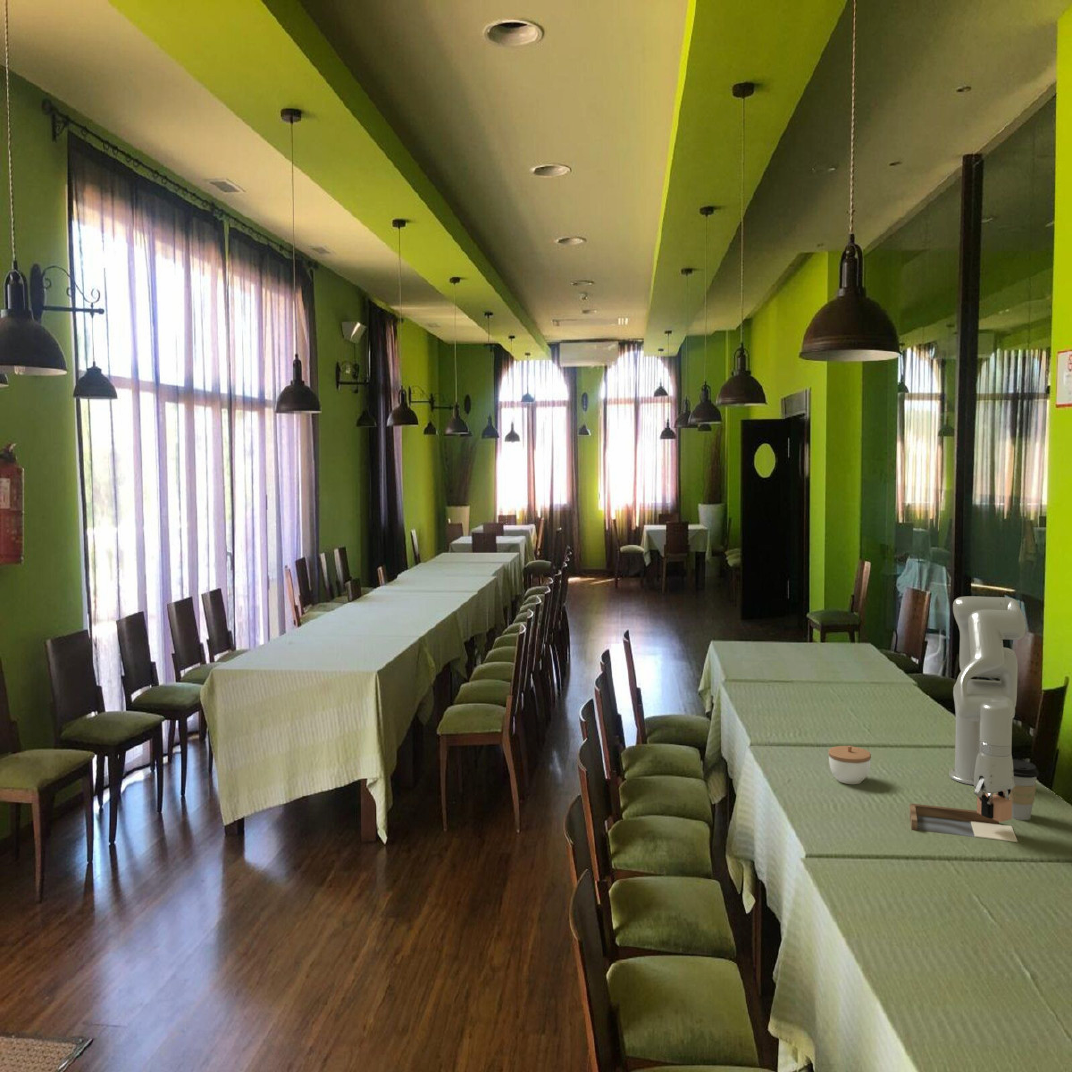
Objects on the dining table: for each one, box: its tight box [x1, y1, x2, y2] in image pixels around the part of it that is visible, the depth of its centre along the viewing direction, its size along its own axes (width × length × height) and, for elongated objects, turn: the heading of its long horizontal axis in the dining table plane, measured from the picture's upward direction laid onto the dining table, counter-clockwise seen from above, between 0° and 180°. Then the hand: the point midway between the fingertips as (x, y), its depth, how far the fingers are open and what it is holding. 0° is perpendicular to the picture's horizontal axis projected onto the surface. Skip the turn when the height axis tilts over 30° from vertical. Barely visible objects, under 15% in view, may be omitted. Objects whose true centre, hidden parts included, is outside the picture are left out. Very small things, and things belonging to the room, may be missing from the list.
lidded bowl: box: [827, 745, 872, 785], centre depth 272 cm, size 13×13×11 cm
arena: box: [909, 803, 1019, 843], centre depth 236 cm, size 12×26×3 cm, turn 69°
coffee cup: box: [1009, 759, 1040, 821], centre depth 242 cm, size 9×9×15 cm
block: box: [976, 793, 1013, 823], centre depth 231 cm, size 7×4×5 cm, turn 24°
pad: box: [971, 821, 1018, 843], centre depth 232 cm, size 10×10×1 cm
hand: (993, 814), depth 232 cm, fingers closed on block, 4 cm apart
